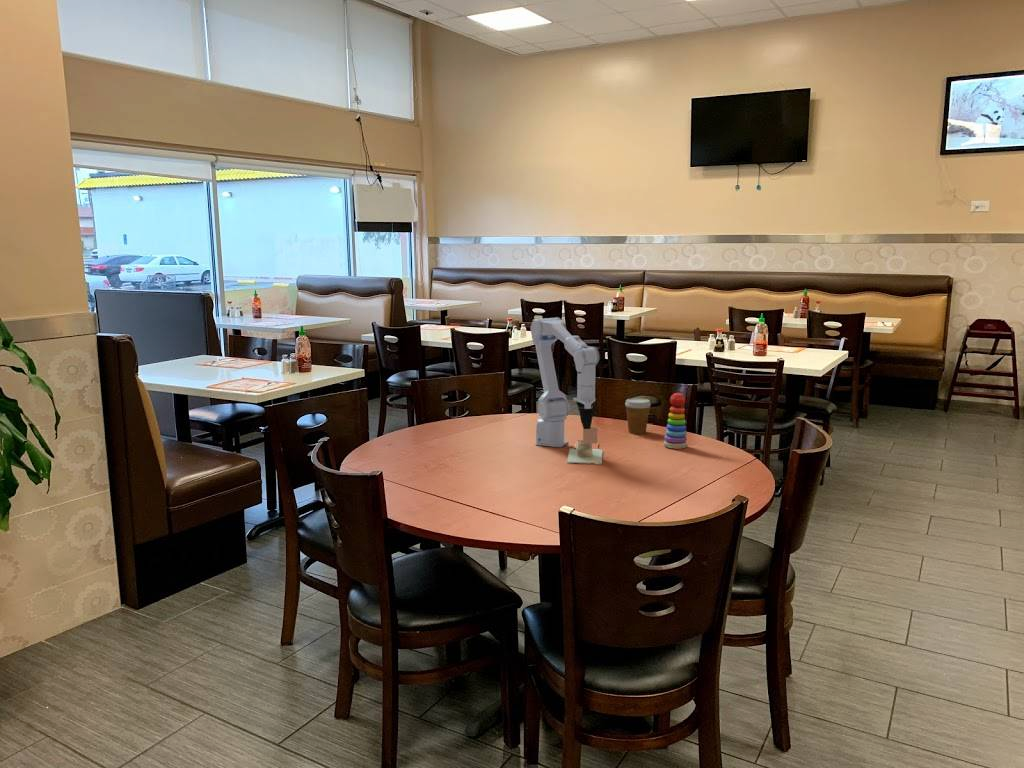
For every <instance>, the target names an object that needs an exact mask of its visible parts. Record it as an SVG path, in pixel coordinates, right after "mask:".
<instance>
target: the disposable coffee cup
mask: <svg viewBox="0 0 1024 768" xmlns="http://www.w3.org/2000/svg"><path fill="white" fill-rule="evenodd" d="M624 405H625V409H626V419H627V428H628V433H629V432H630V434H634V435H643V433H644V434H646V433H645V432H647V428H648V419H649V412H650V408H651V405H652V403H651V401H650V399H647V398H642V397H638V398H637V397H634V398H627V399H626V400H625V403H624Z"/></svg>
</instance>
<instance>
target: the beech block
mask: <svg viewBox="0 0 1024 768" xmlns="http://www.w3.org/2000/svg"><path fill="white" fill-rule="evenodd" d="M577 443H578V444H577V454H578V457H592V444H583V439H581V440H579V439H578V440H577Z"/></svg>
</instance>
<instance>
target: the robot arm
mask: <svg viewBox="0 0 1024 768" xmlns="http://www.w3.org/2000/svg"><path fill="white" fill-rule="evenodd" d="M564 325H565V324H564V321H563V320H562V319H561V318H560V317H558V316H556V317H549V318H547V317H546V318H533V320H532V322H531V324H530V332H531V333H530V334H531V339H532V343H533V344H534V345H535V350H536V351H535V352H536V355H537V362H538V366H539V367H538V368H539V371H540V377H541V385H542V387H543V393H542V394H541V395H540V397H539V398H538V399H537V401H538V411H537V412H538V414H539V417H540V418H538V419H537V422H536V427H535V428H536V431H535V432H536V433H535V436H536V437H535V439H536V440H535V441H536V443H535V446H540V447H541V446H545V447H553V448H563V446H566V444H568V443H569V441H568V440H565V420H567V417H568V416H569V415H570V411H571V406H570V403H569V402H568V400H567V395H566V394H565V393H564V392H563V391H561V390H560V389H559V384H558V379H557V373H556V367H555V362H554V357H553V352H552V345H553V344H554V343H555V342H556V341H558V340H559V341H561V342H562V343H563V345H564V346H563V347H564V349H565V351H567V353H569V354H570V355H571V356H572V357H573V361H574V363H575V370H576V371H575V372H577V376H576V377H577V379H576V380H577V385H576V387H577V388H576V389H577V390H576V391H577V392H576V393H577V395H576V397H573V402H575V403H576V405H577V410H578V411H579V417H580V422H581V424H582V428H583V429H590V427H592V421H593V417H594V415H595V413H596V411H597V408H596V407H593V406H594V404H595V403H594V402H596V365H598V363H599V361H600V352H599V351H598V349H597V348H596V346H589V345H588V344H586V343H585V342H584V341H583V340H582V339H581V338H580V336H579V335H572V334H571V333H570V331H568V330H567V328H566V327H565V326H564Z"/></svg>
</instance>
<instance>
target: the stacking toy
mask: <svg viewBox="0 0 1024 768" xmlns="http://www.w3.org/2000/svg"><path fill="white" fill-rule="evenodd" d="M669 403H670V404H671V406H670V408H669V413H668V419H667V425H666V428H667V429H666V430H665V435H664V436H663V437H664V441H663V446H664V447H665V448H667V447H668V449H672V448H673V450H682V448H683V449H686V448H687V446H688V442H687V438H688V437H687V430H686V429H687V426H686V419H685V418H686V416H685V412H686V409H685V407H683V406H684V405H685V404H686V398H685V396H684V394H683V393H680V392H675V393H673V394H671V396H670V399H669Z"/></svg>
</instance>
